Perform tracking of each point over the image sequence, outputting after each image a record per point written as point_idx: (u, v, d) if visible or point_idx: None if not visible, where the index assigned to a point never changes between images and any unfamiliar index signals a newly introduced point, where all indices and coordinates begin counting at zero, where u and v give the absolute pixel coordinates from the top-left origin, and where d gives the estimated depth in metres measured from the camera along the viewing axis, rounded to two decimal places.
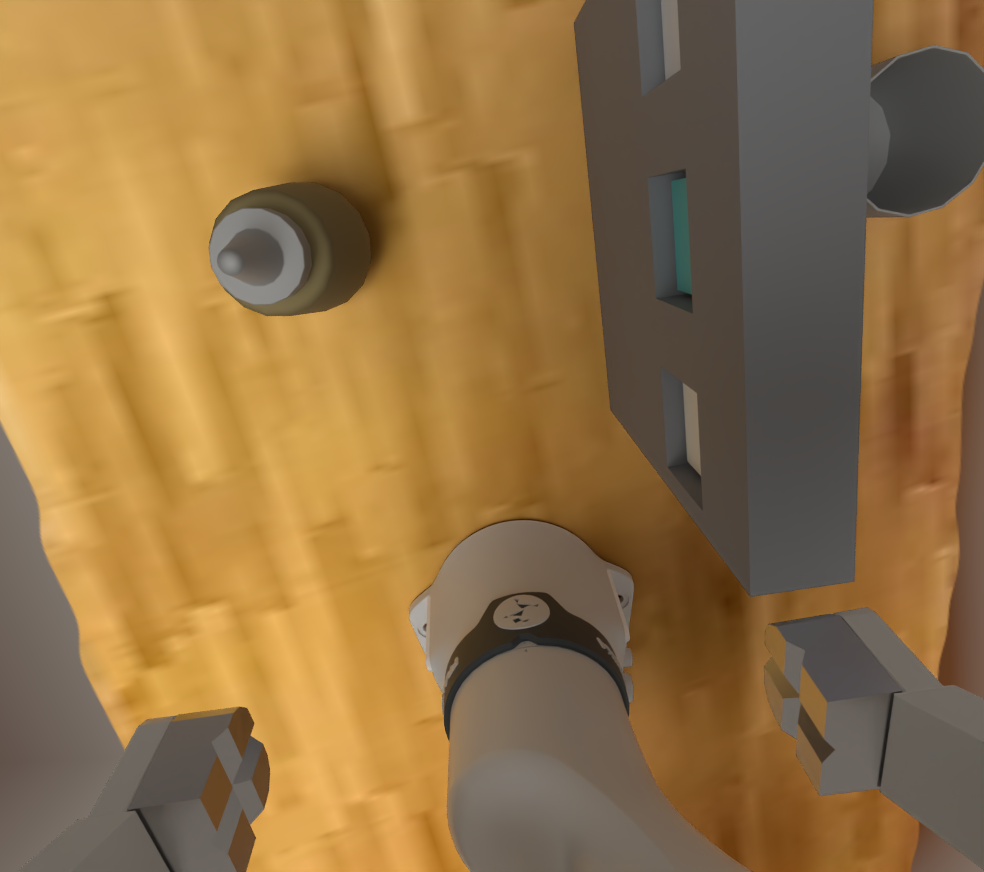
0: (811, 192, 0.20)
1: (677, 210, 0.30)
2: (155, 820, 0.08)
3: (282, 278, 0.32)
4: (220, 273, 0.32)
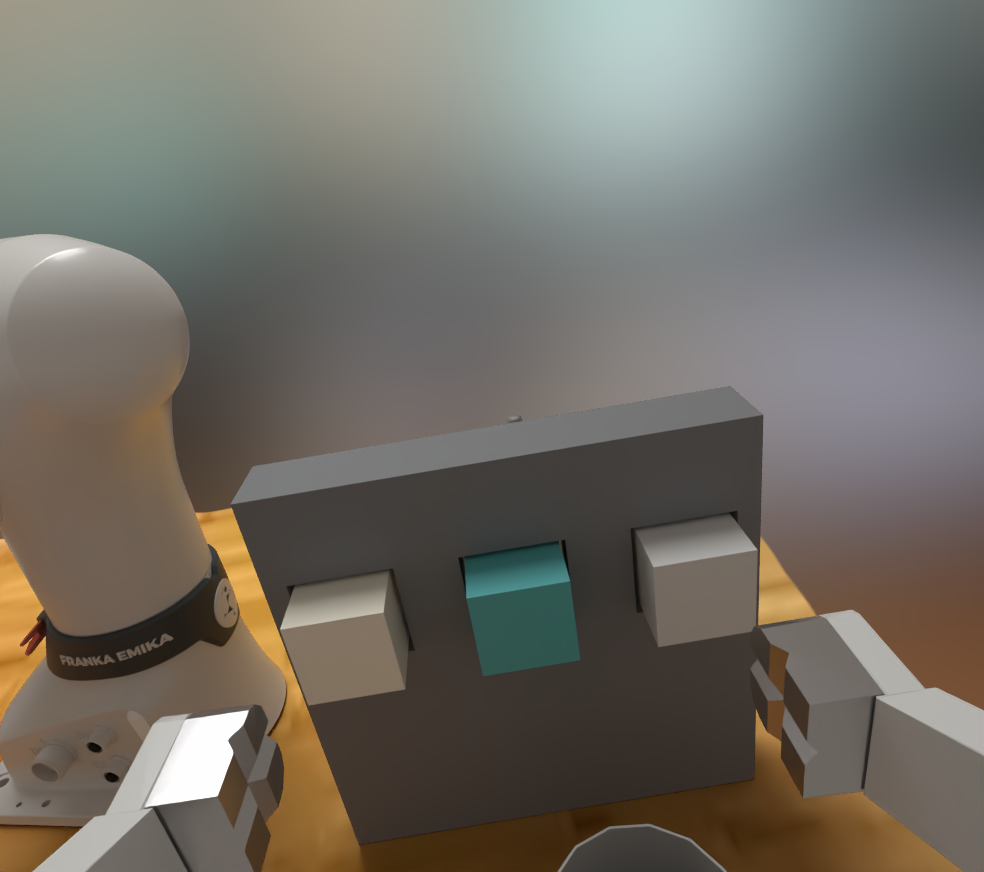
0: (521, 439, 0.33)
1: None
2: (172, 817, 0.08)
3: None
4: None
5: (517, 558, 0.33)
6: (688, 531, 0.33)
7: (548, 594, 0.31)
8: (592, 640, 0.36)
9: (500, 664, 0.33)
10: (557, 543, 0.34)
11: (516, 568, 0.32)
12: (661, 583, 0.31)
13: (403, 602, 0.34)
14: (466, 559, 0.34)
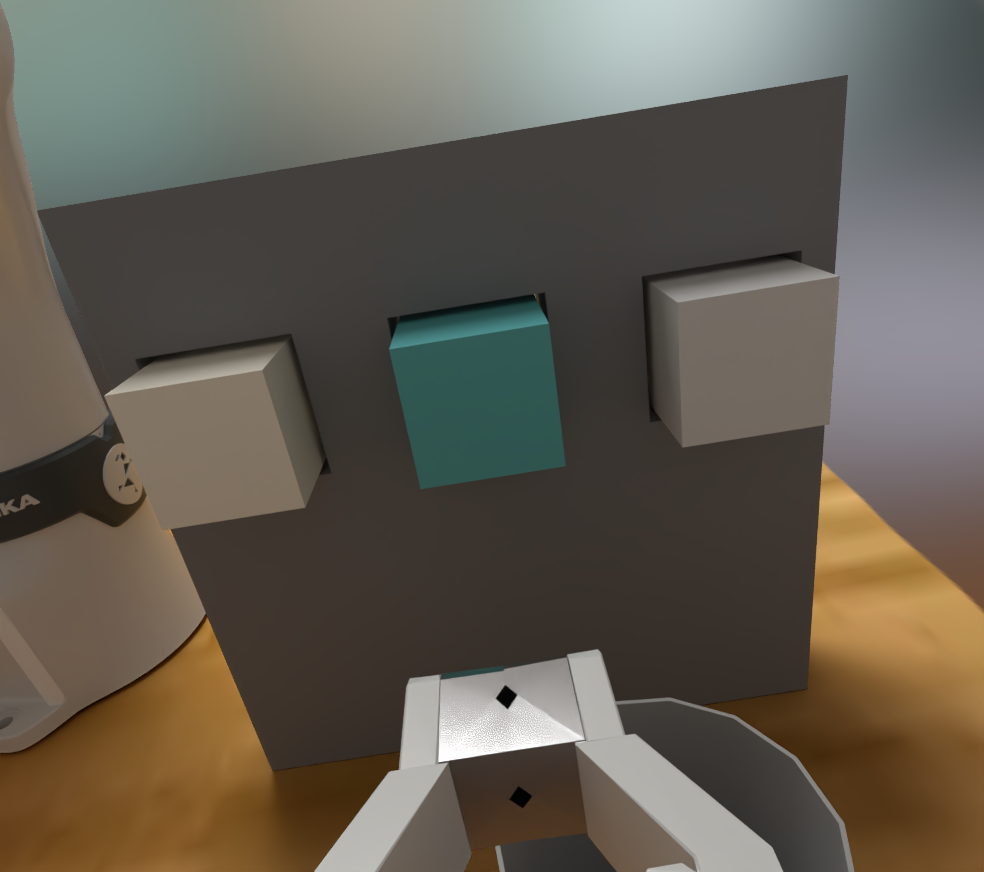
0: None
1: None
2: (462, 773, 0.08)
3: None
4: None
5: (473, 315, 0.22)
6: (728, 275, 0.22)
7: (516, 346, 0.20)
8: (586, 465, 0.25)
9: (446, 468, 0.22)
10: (534, 301, 0.23)
11: (470, 322, 0.22)
12: (690, 333, 0.20)
13: (310, 392, 0.24)
14: (400, 323, 0.23)
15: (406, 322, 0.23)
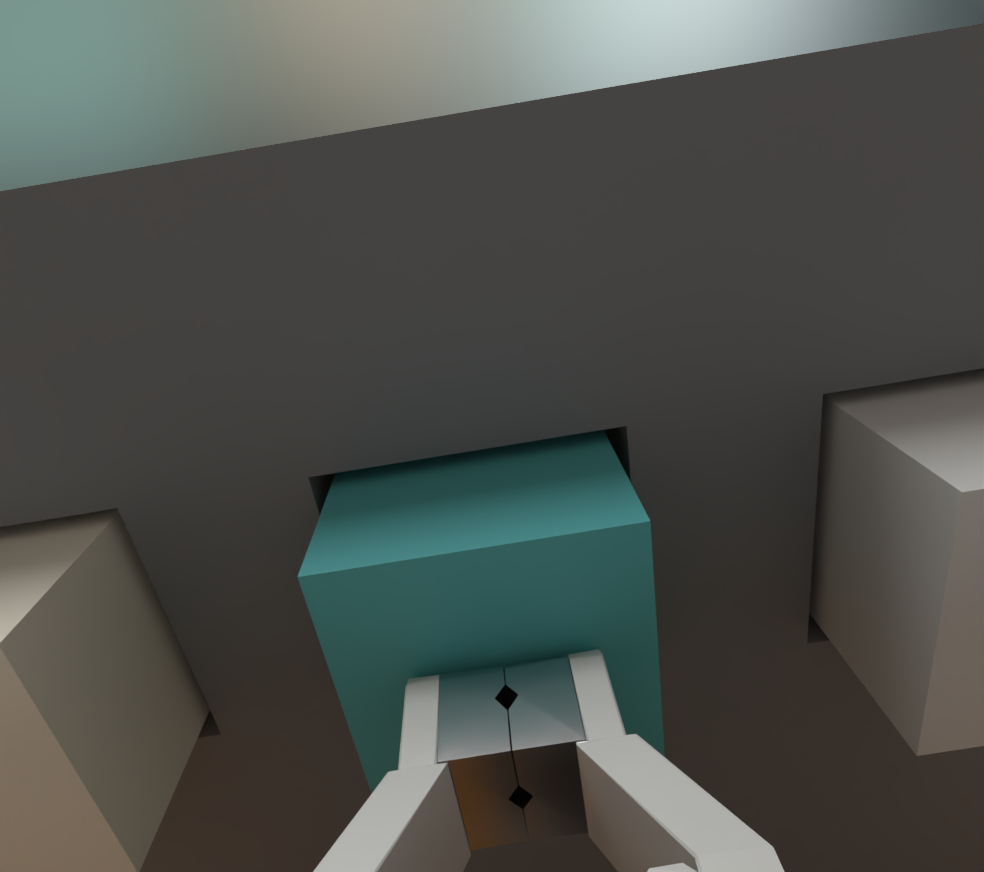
0: None
1: None
2: (461, 773, 0.08)
3: None
4: None
5: (482, 465, 0.11)
6: None
7: (576, 565, 0.09)
8: (685, 711, 0.14)
9: None
10: None
11: (476, 489, 0.11)
12: (976, 553, 0.09)
13: (167, 608, 0.12)
14: (340, 472, 0.12)
15: (352, 470, 0.12)
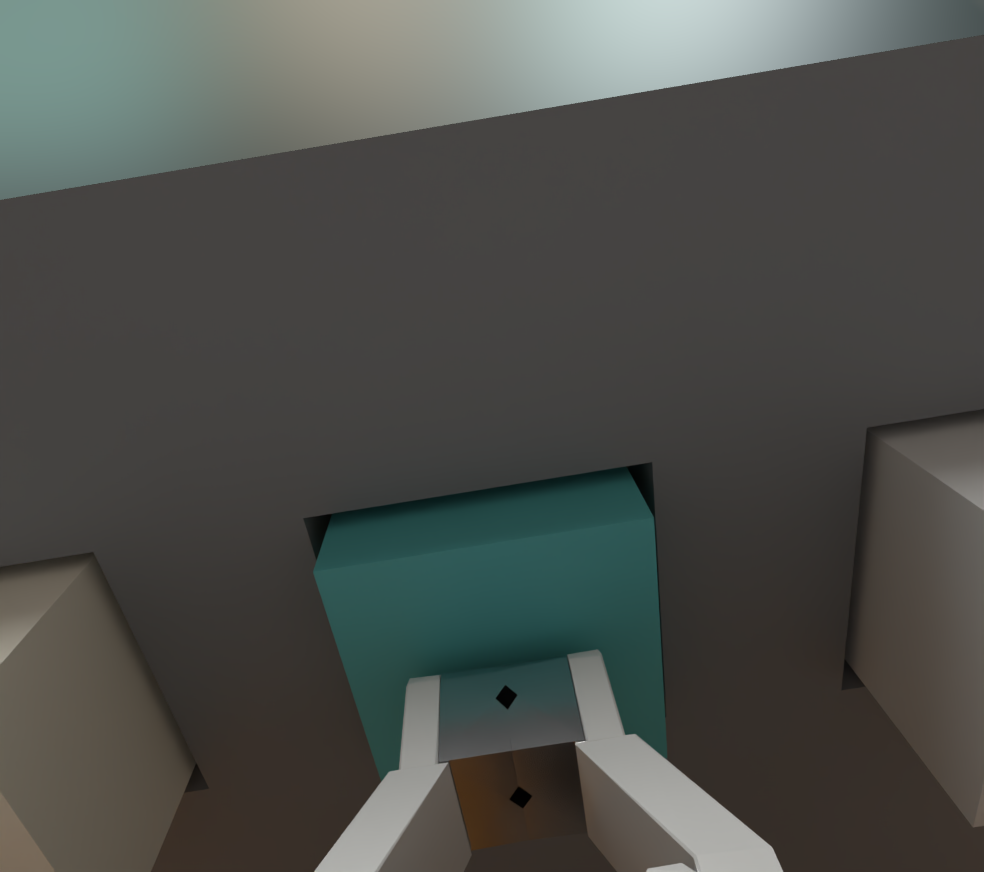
0: None
1: None
2: (462, 773, 0.08)
3: None
4: None
5: None
6: None
7: (582, 560, 0.10)
8: (709, 761, 0.13)
9: None
10: None
11: None
12: None
13: (149, 657, 0.11)
14: None
15: None
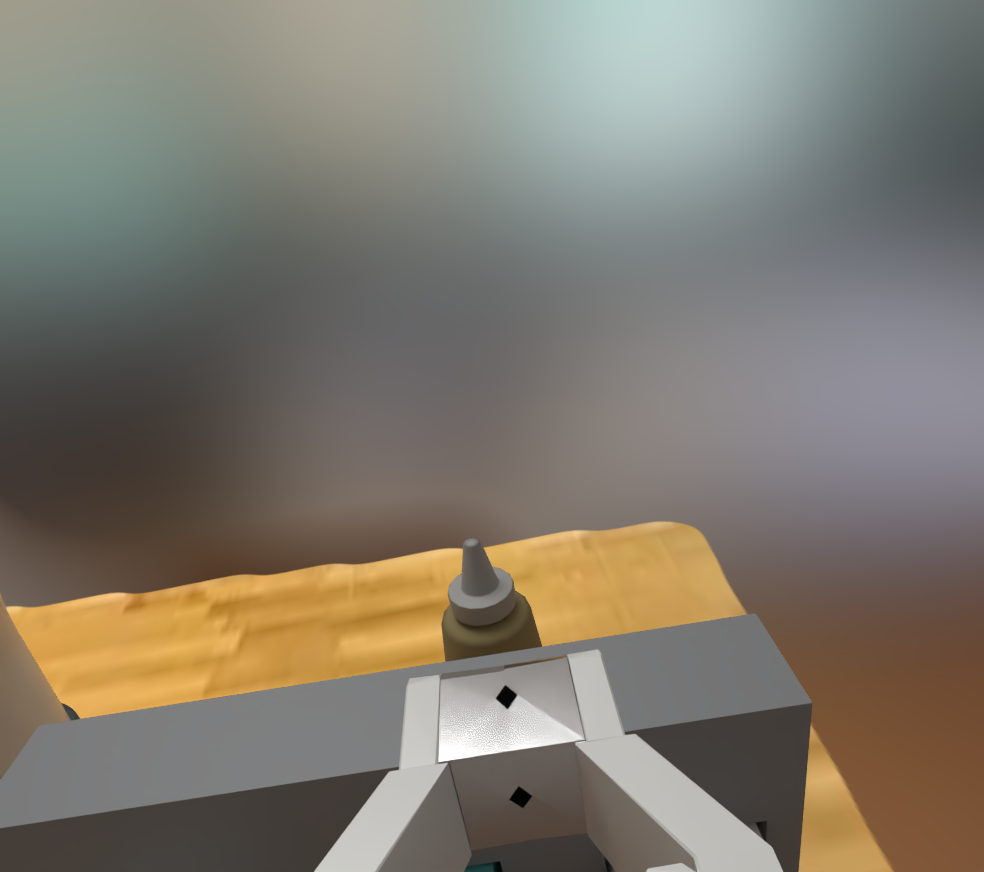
0: None
1: None
2: (462, 773, 0.08)
3: (464, 596, 0.44)
4: None
5: None
6: None
7: None
8: None
9: None
10: None
11: None
12: None
13: None
14: None
15: None
